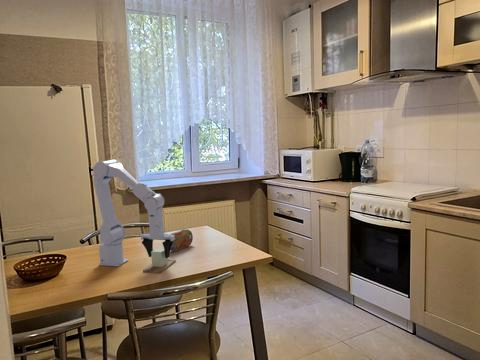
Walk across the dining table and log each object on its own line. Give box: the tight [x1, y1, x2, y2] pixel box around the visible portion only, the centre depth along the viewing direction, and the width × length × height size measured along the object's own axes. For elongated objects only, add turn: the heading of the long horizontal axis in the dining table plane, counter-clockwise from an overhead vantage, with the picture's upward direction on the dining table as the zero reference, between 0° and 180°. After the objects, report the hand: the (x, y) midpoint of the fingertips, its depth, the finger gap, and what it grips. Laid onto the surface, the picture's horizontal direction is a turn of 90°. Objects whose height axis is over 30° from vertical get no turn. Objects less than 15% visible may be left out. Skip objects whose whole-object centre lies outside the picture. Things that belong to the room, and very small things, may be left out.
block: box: [150, 247, 168, 267], centre depth 157 cm, size 5×5×6 cm
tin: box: [169, 229, 194, 252], centre depth 180 cm, size 15×3×8 cm, turn 143°
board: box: [142, 258, 176, 274], centre depth 158 cm, size 8×13×2 cm, turn 163°
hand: (159, 256), depth 157 cm, fingers open, 7 cm apart
